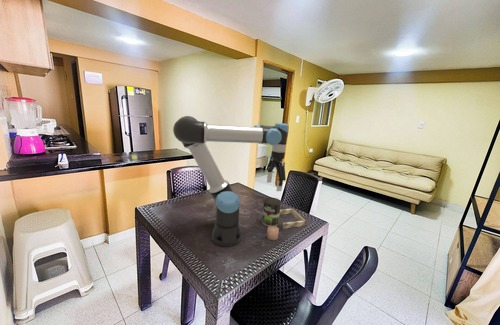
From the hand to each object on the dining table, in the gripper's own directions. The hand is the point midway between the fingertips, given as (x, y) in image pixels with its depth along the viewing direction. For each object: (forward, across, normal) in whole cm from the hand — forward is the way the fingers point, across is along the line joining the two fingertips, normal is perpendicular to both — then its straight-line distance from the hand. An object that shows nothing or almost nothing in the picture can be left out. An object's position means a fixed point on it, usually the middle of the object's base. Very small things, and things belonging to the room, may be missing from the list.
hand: (273, 186), depth 122 cm
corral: (+22, -2, -12) cm, 25 cm away
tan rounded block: (+23, -16, +5) cm, 28 cm away
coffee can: (+23, -2, 0) cm, 23 cm away
